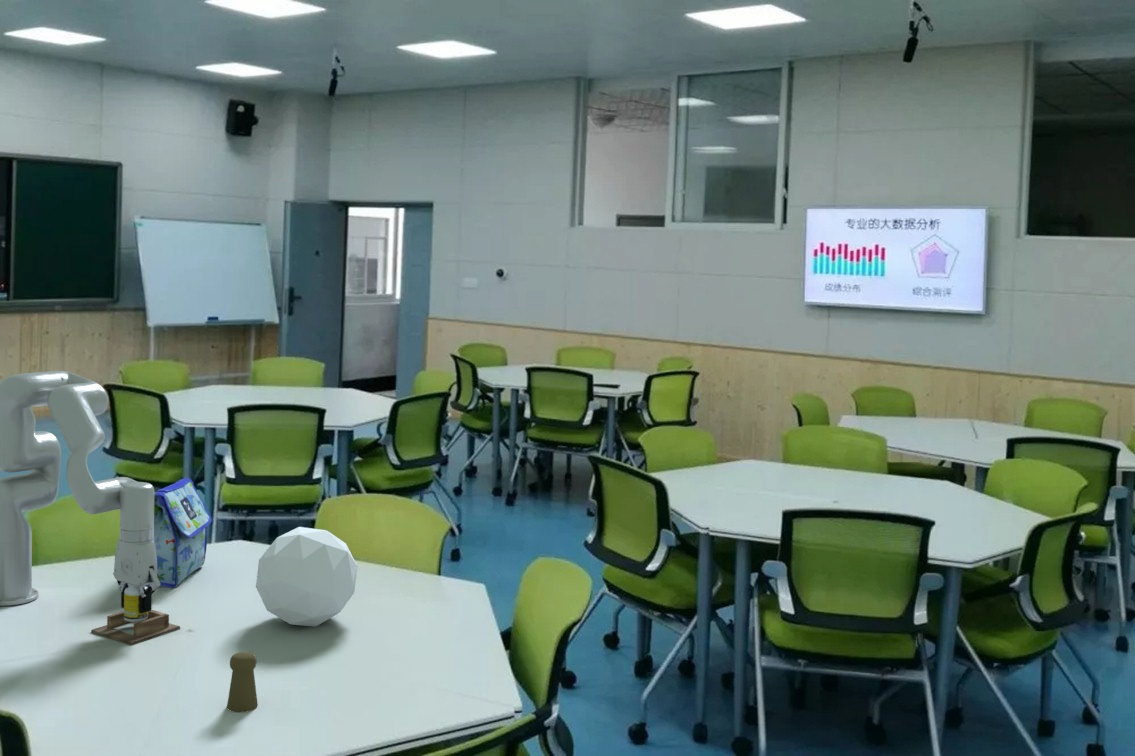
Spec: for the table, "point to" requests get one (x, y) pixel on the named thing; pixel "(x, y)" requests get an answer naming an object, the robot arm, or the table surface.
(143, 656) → the table surface
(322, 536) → the geometric polyhedron
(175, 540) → the lunch bag
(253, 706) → the olive game pawn
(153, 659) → the table surface
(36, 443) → the robot arm
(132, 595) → the supplement bottle
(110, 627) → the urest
